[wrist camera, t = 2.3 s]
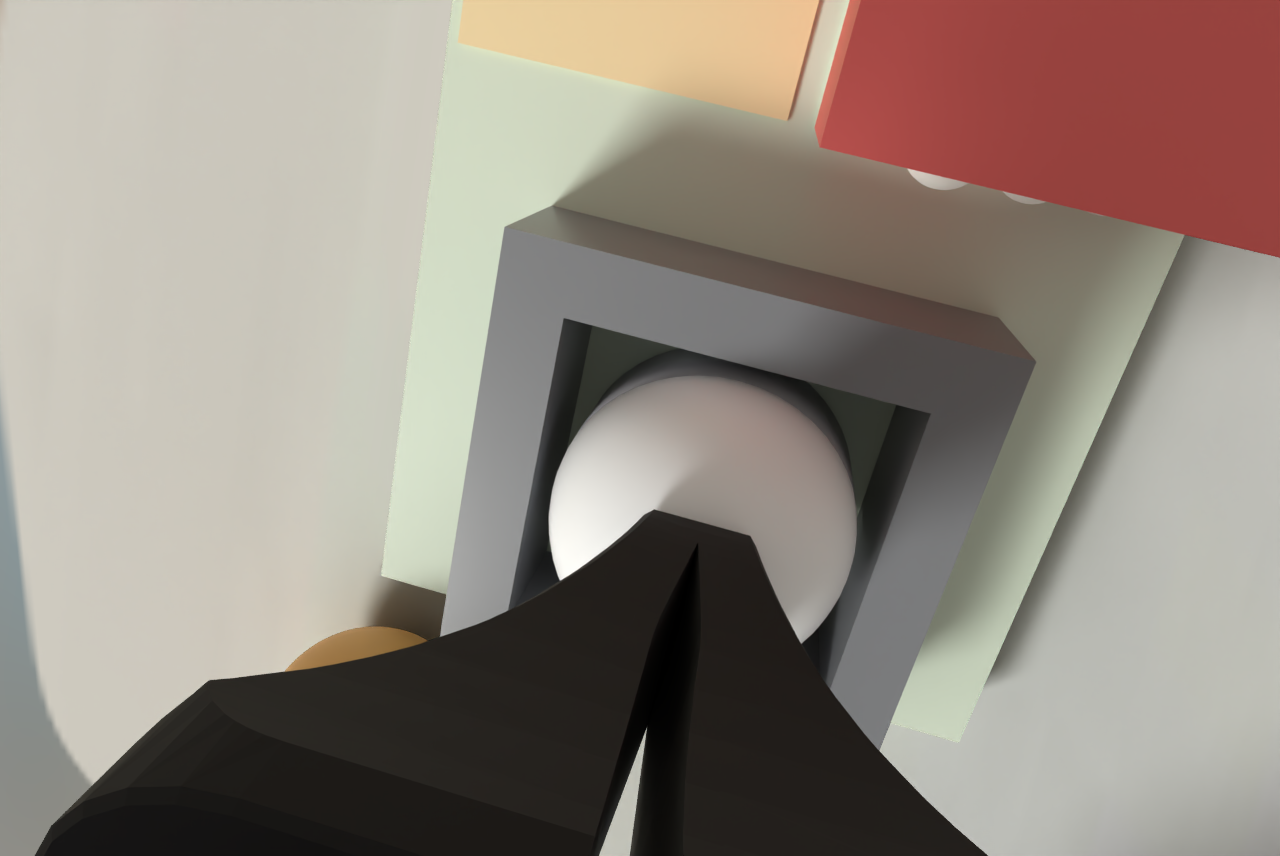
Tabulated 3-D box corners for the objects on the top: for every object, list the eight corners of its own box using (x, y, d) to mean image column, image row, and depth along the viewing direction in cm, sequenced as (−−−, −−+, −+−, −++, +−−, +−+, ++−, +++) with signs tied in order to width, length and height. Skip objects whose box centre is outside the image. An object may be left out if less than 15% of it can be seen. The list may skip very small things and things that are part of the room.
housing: (857, 688, 16) (865, 784, 14) (485, 582, 17) (436, 657, 14) (998, 317, 14) (1036, 361, 11) (552, 205, 14) (504, 226, 12)
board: (949, 701, 17) (959, 746, 16) (406, 546, 18) (378, 578, 17) (1363, -263, 11) (1428, -305, 10) (537, -423, 12) (508, -478, 11)
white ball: (806, 608, 16) (807, 787, 12) (565, 540, 16) (484, 691, 12) (885, 374, 14) (918, 489, 10) (615, 305, 14) (541, 389, 10)
